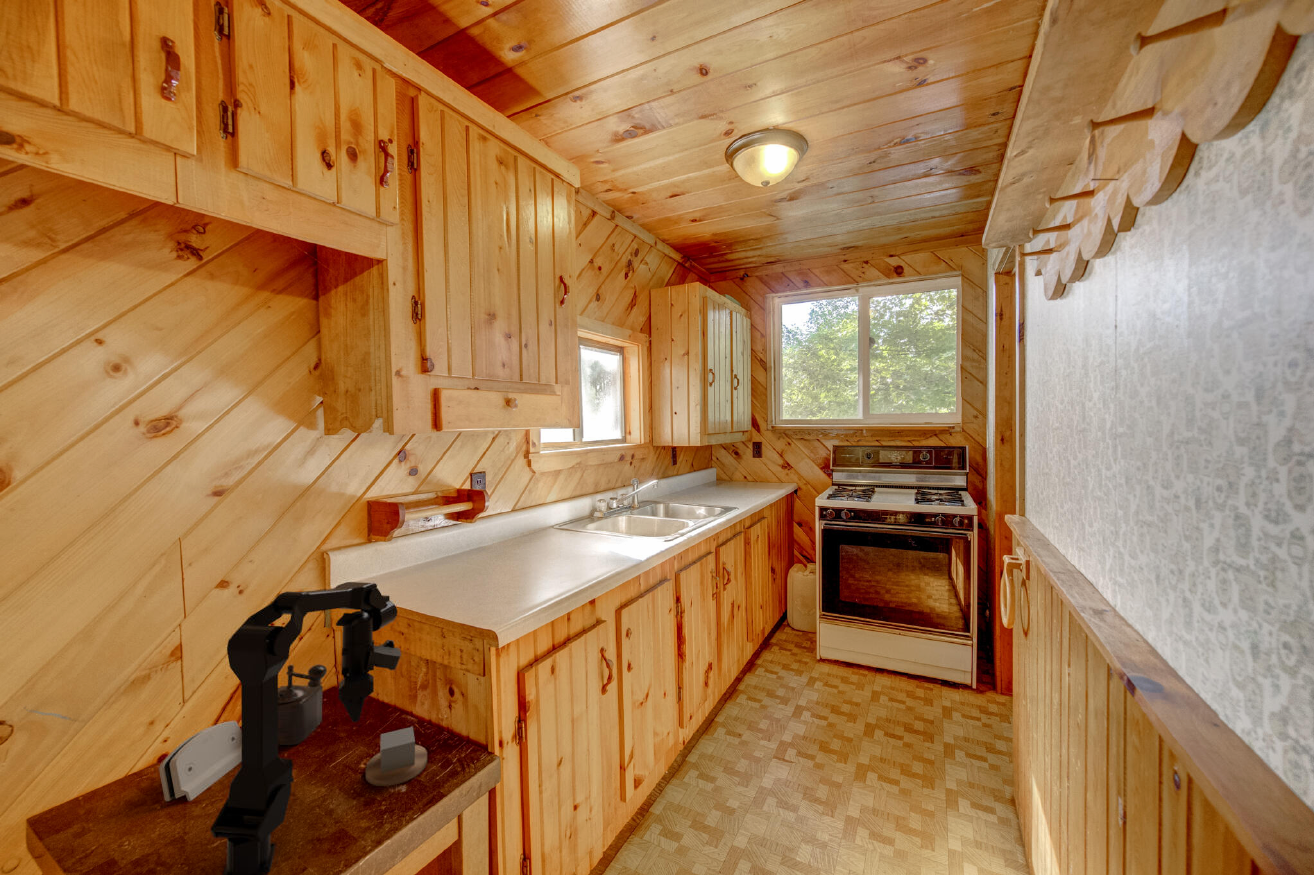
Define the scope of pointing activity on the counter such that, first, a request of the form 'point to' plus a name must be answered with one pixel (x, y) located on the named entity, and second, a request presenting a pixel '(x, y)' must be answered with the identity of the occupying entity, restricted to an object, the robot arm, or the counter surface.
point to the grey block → (397, 749)
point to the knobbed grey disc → (396, 775)
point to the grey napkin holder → (201, 760)
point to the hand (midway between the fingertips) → (356, 711)
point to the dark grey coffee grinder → (300, 706)
